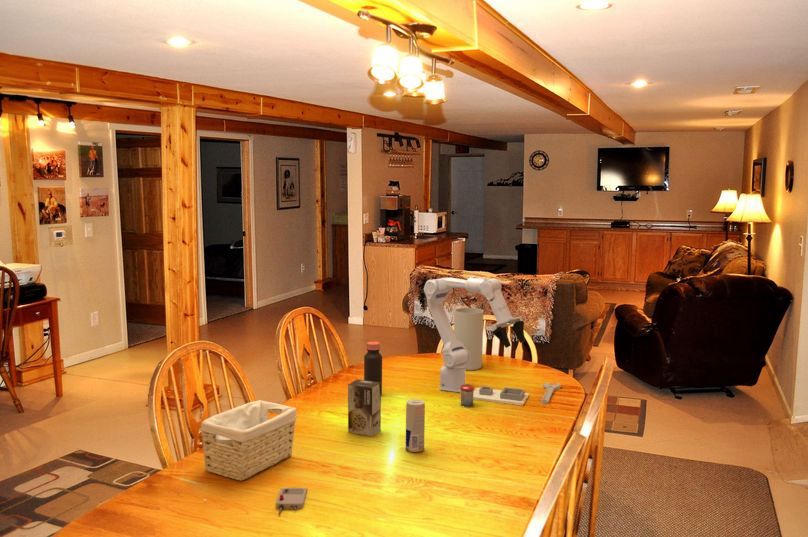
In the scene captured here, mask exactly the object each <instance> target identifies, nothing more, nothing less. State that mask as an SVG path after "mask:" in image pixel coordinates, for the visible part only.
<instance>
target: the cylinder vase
mask: <svg viewBox="0 0 808 537" xmlns="http://www.w3.org/2000/svg"><path fill="white" fill-rule="evenodd" d="M453 313H454V314H453V315H454V316H453V318H454V319H453V331H454V334H455V336H456V338H457V340H458V341H459V342H461V343H462V344H463V345H464V347H465V349H466V350H467V351H468V352H469V355H470V359H469V361H468V363H467V364H466V369H465V371H476V370H477V371H478V370H479V369H481V368H482V366H483V339H484V338H483V336H484V310H483V309H481V308H475V307H460V308H459V307H458V308H455V309H454V311H453ZM452 351H454V350H452Z"/></svg>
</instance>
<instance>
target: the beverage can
mask: <svg viewBox="0 0 808 537" xmlns="http://www.w3.org/2000/svg"><path fill="white" fill-rule="evenodd" d="M425 410H426V404H425V400H423V399H419V398H418V399H417V398H415V399H414V398H411V399H408V400H406V405H405V449H406V450H407V451H408V452H409V453H419V452H422V451H423V450H424V449H425V423H426V422H425V420H426V419H425V417H426V416H425V414H426V412H425Z"/></svg>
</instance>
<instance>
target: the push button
mask: <svg viewBox="0 0 808 537" xmlns="http://www.w3.org/2000/svg"><path fill="white" fill-rule="evenodd" d="M460 389H461V392H460V406H461V407H463V406H464V408H471V407H474V400H473V393H474V390H475V385H473V384H467V383H465V385H461V386H460Z"/></svg>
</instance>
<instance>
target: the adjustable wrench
mask: <svg viewBox="0 0 808 537" xmlns="http://www.w3.org/2000/svg"><path fill="white" fill-rule="evenodd" d="M561 387H562V384H561V383H559V382H557V381H556V382H555V384H550V382H545V383H544V384H543V385H542V388H543V389H545V390H546V391H545V393H544V394H543V396H542V398H541V401H540V402H541V403H540V404H542V403H543V404H542V405H548V404H549V403H550V401H551V399H552V396H553V394H554V392H556V391H558V390H560V389H561ZM552 393H553V394H552ZM550 398H551V399H550Z"/></svg>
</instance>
